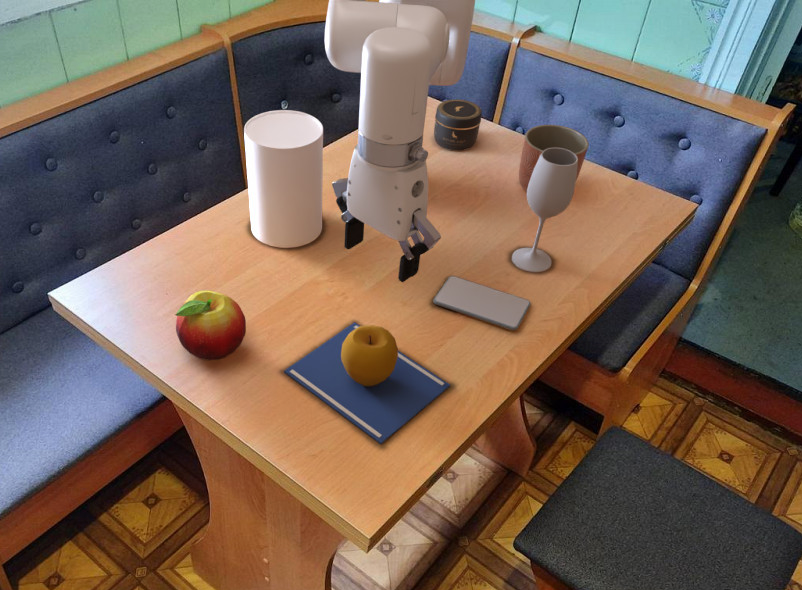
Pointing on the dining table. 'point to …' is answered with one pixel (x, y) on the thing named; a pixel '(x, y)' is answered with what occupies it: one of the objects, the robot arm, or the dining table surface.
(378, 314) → the dining table surface
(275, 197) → the canister
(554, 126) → the planter
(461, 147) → the jar
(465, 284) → the smartphone
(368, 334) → the apple
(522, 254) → the wineglass
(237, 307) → the fruit
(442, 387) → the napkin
